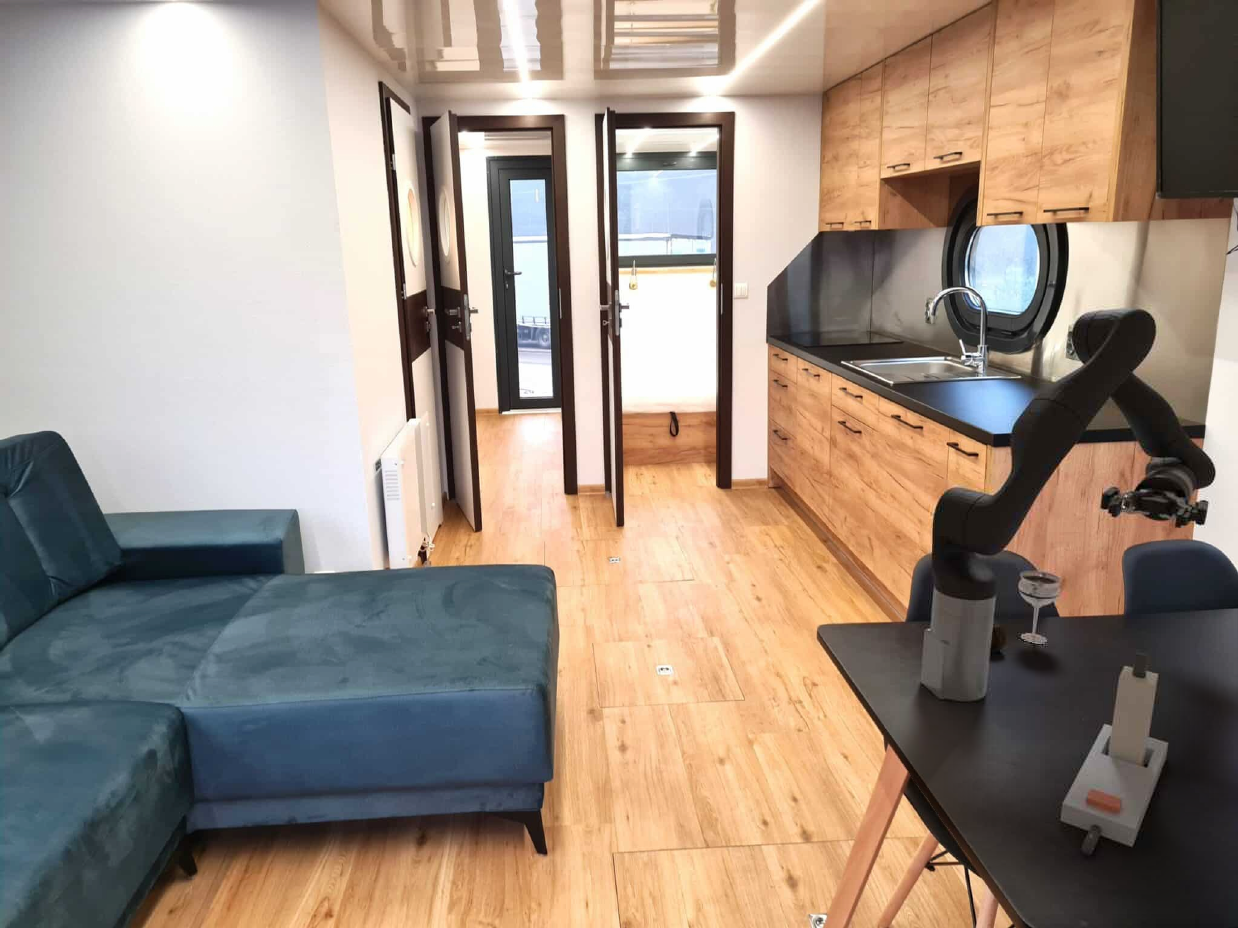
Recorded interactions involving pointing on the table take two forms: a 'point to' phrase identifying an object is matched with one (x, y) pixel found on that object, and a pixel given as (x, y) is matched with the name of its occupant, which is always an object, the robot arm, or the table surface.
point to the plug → (1133, 712)
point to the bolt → (997, 638)
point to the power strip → (1112, 792)
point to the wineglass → (1038, 596)
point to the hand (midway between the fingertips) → (1145, 516)
